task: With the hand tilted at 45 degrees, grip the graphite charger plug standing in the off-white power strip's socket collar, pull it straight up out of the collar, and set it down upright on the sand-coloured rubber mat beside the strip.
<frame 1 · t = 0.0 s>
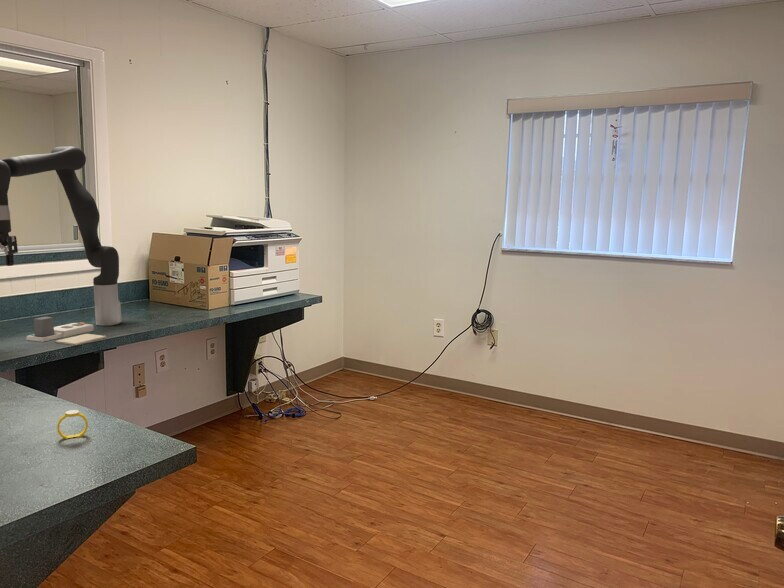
hand: (1, 265, 210), 29 cm above the counter, tool pointing down, fingers open, 8 cm apart
power strip: (60, 335, 234), on the counter
charger plug: (44, 338, 227), resting in power strip
rubber mat: (81, 339, 226), on the counter
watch: (73, 438, 133), on the counter
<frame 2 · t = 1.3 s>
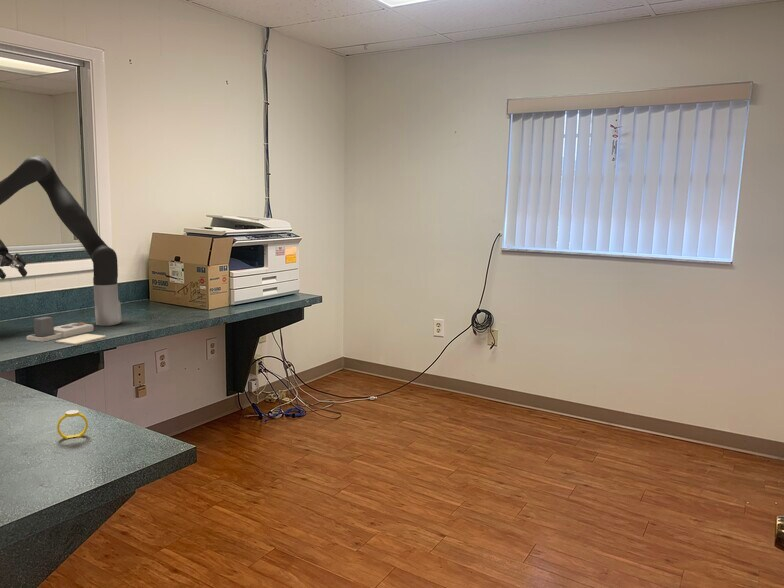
hand: (15, 276, 229), 23 cm above the counter, tool tilted 45°, fingers open, 8 cm apart
nothing on the counter moved.
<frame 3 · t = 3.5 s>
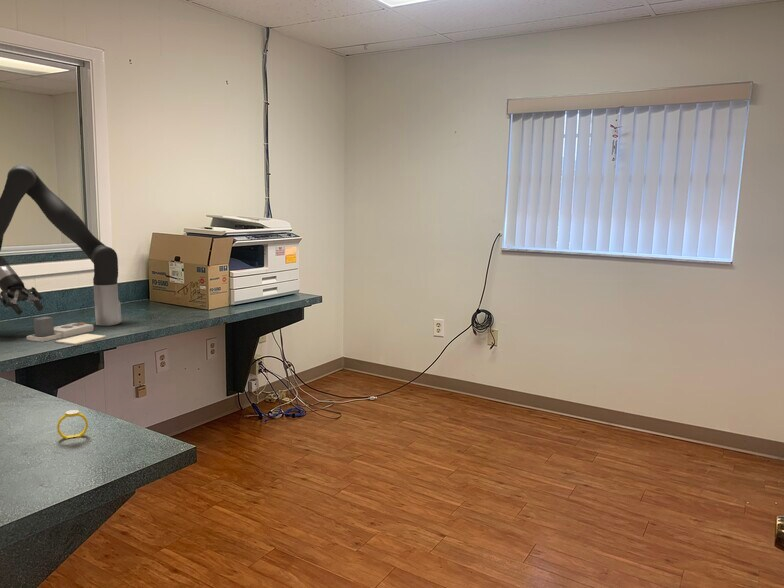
hand: (31, 311, 228), 10 cm above the counter, tool tilted 45°, fingers open, 8 cm apart
nothing on the counter moved.
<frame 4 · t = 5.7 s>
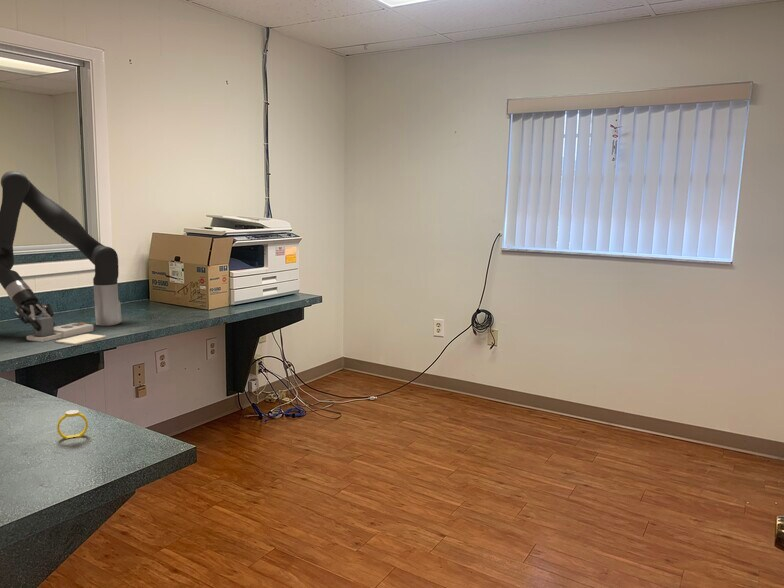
hand: (46, 328, 226), 4 cm above the counter, tool tilted 45°, fingers closed on charger plug, 5 cm apart
charger plug: (44, 338, 227), resting in power strip, touching gripper
everything else where it was.
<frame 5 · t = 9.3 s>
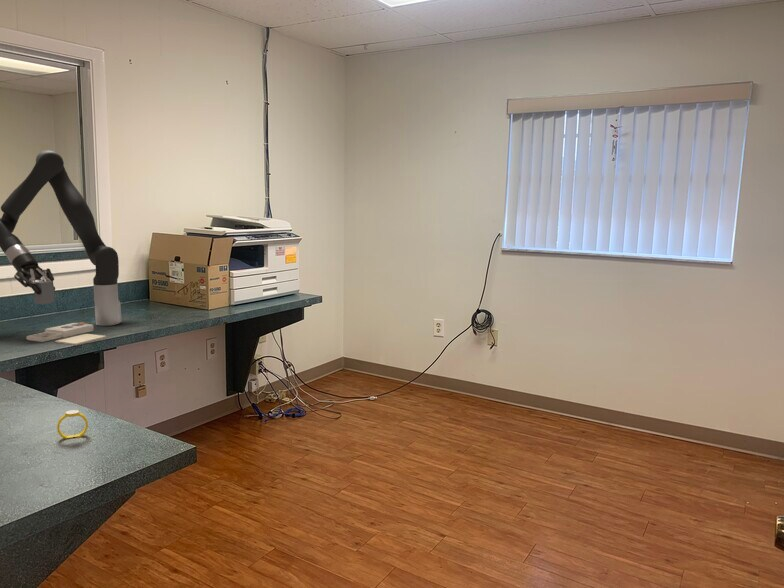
hand: (46, 292, 224), 18 cm above the counter, tool tilted 45°, fingers closed on charger plug, 5 cm apart
charger plug: (45, 302, 225), point 14 cm above the counter, touching gripper
everything else where it was.
when the fingers open (6 cm above the counter, at t = 13.0 s): charger plug drops 1 cm, resting on rubber mat.
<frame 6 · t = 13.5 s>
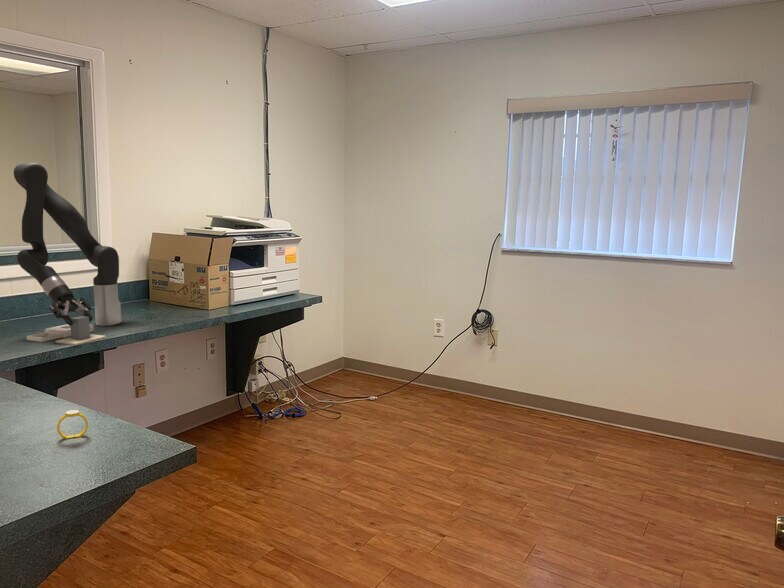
hand: (81, 322, 225), 7 cm above the counter, tool tilted 45°, fingers open, 8 cm apart
charger plug: (80, 338, 226), point 1 cm above the counter, touching rubber mat
everything else where it was.
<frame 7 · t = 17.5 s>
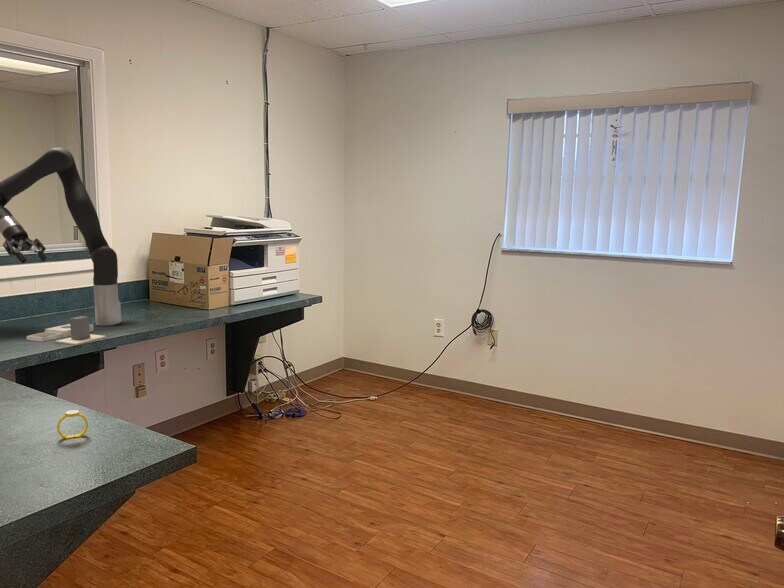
hand: (35, 261, 232), 29 cm above the counter, tool tilted 45°, fingers open, 8 cm apart
nothing on the counter moved.
at the end: charger plug inside the target area on the rubber mat (0.1 cm from its centre), point 0.6 cm above the rubber mat's base; charger plug tilted 0°; the gripper is holding nothing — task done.
